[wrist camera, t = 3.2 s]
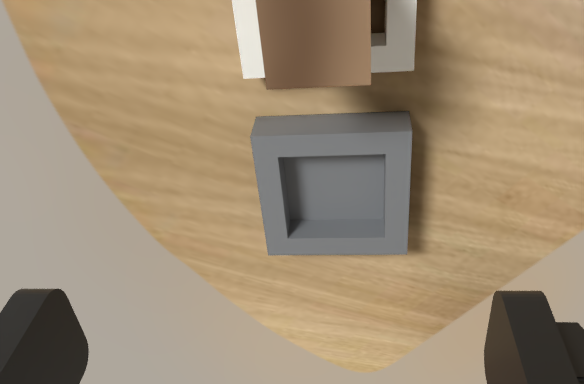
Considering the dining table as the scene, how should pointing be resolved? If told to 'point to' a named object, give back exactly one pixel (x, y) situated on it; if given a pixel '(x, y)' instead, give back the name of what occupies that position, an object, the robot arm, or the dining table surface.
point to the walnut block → (315, 42)
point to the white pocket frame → (384, 46)
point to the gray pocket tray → (334, 182)
